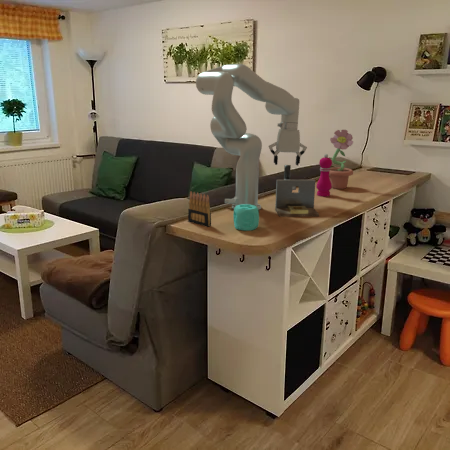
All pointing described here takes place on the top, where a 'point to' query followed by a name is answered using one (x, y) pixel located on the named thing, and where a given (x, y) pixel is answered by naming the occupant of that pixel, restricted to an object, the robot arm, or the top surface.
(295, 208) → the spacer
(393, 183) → the top surface
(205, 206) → the ammunition clip
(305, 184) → the grey rectangular panel
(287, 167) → the shaft
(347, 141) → the decorative flower
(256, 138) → the robot arm
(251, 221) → the decorative dice
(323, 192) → the pepper mill
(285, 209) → the base board
